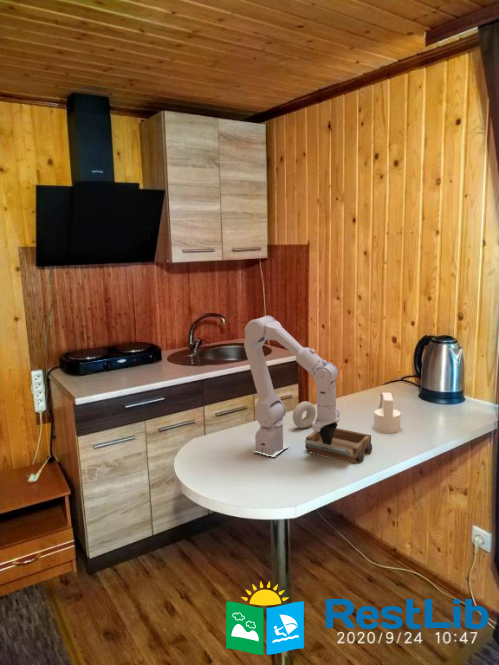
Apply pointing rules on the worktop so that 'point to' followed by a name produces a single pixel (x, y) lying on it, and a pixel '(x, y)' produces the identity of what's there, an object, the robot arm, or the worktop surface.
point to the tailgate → (328, 447)
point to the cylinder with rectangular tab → (387, 416)
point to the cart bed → (344, 445)
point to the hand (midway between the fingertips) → (327, 445)
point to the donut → (299, 411)
